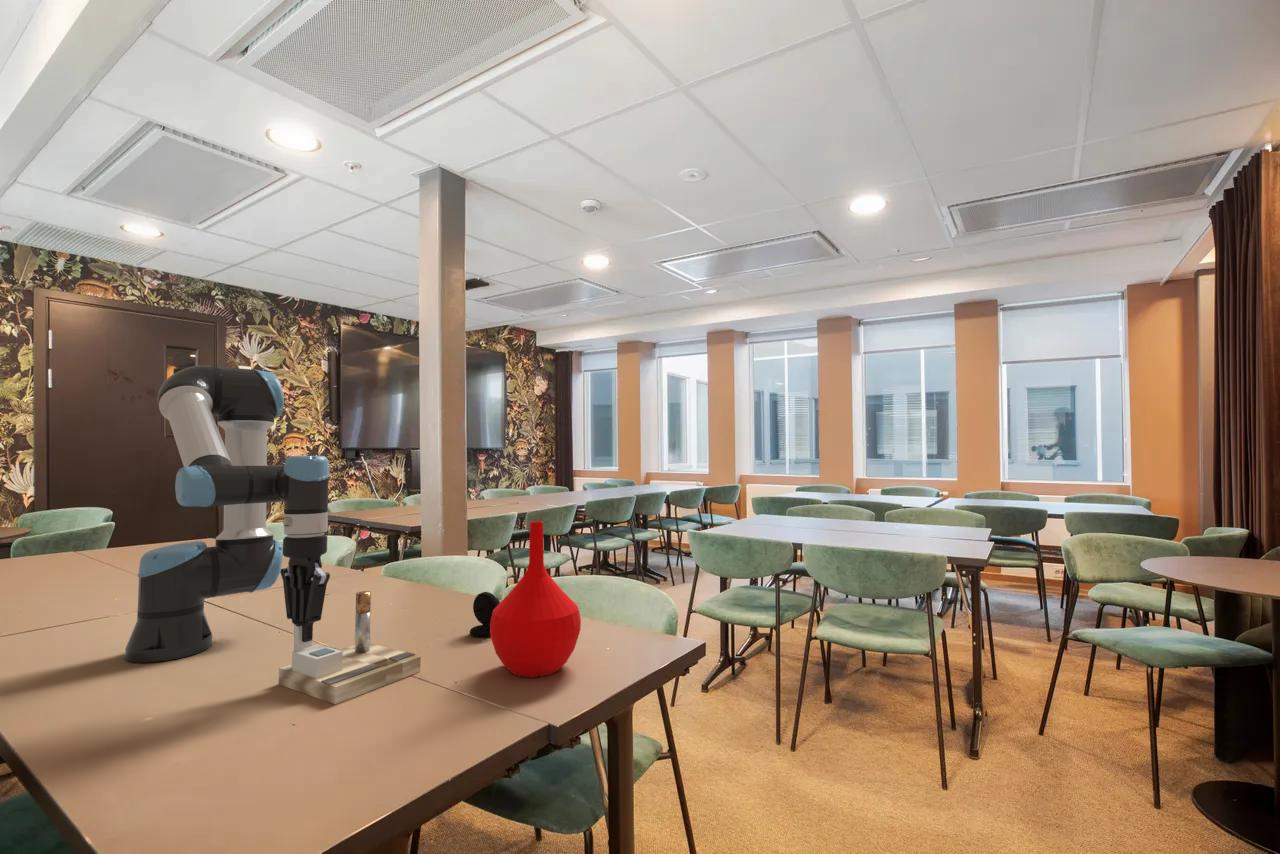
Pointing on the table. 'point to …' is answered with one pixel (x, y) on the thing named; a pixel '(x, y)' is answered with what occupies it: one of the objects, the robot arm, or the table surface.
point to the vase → (535, 619)
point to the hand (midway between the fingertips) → (302, 657)
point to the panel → (354, 674)
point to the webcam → (483, 613)
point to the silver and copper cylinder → (362, 622)
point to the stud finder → (317, 661)
